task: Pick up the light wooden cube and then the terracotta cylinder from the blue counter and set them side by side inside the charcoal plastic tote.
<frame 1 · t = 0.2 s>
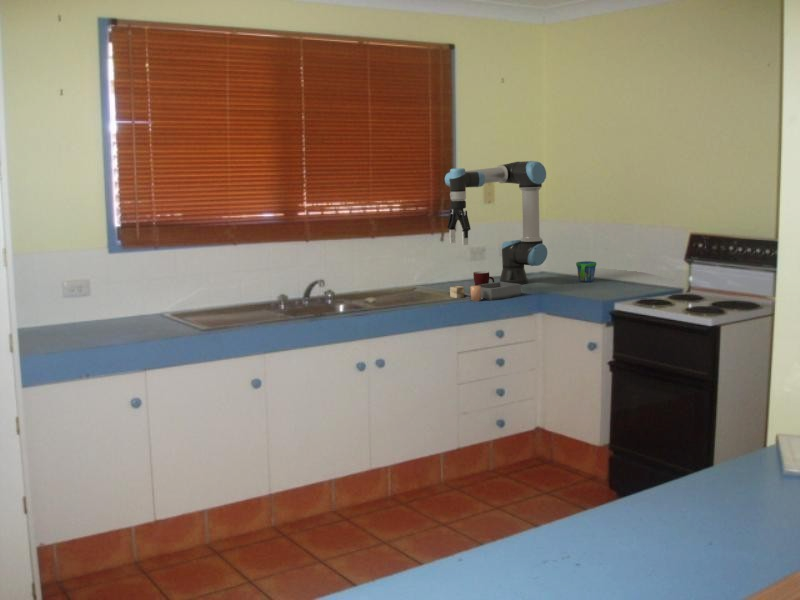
hand: (458, 243, 441), 26 cm above the counter, fingers open, 13 cm apart
snack cup: (586, 281, 480), on the counter
terracotta cylinder: (476, 300, 432), on the counter
tote: (495, 296, 443), on the counter
wood cube: (457, 297, 446), on the counter
mug: (484, 291, 460), on the counter
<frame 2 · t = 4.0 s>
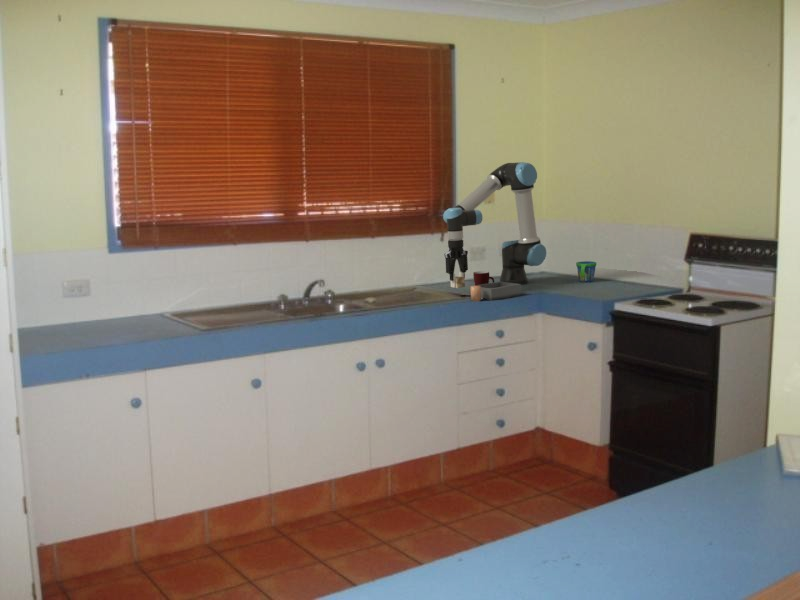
hand: (457, 286, 446), 5 cm above the counter, fingers closed on wood cube, 5 cm apart
wood cube: (457, 287, 446), point 5 cm above the counter, touching gripper
everything else where it was.
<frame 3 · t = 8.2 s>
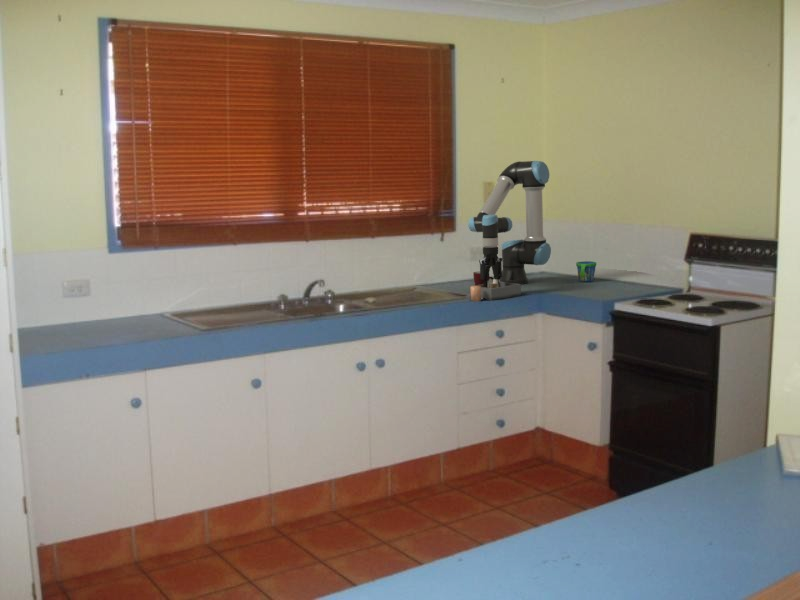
hand: (491, 293, 445), 1 cm above the counter, fingers closed on wood cube, 5 cm apart
wood cube: (491, 293, 445), point 1 cm above the counter, touching gripper, tote
everything else where it was.
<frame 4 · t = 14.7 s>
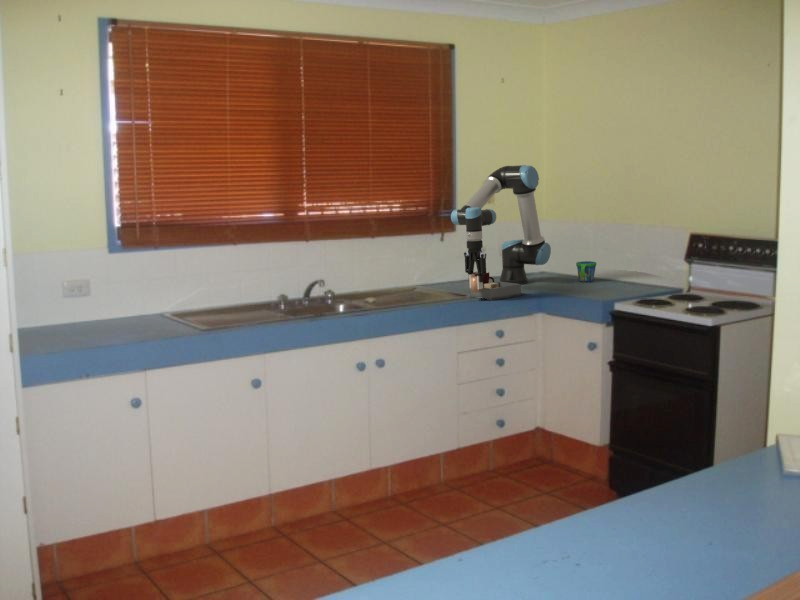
hand: (476, 288, 432), 6 cm above the counter, fingers closed on terracotta cylinder, 5 cm apart
terracotta cylinder: (476, 291, 432), point 4 cm above the counter, touching gripper
wood cube: (491, 293, 445), point 1 cm above the counter, touching tote
everything else where it was.
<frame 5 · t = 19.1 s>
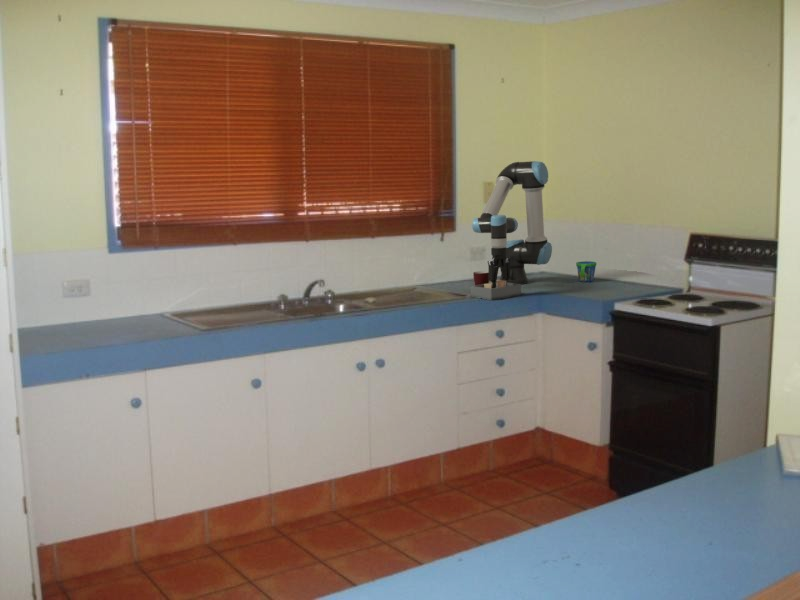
hand: (499, 294, 440), 1 cm above the counter, fingers closed on terracotta cylinder, 5 cm apart
terracotta cylinder: (499, 294, 440), point 1 cm above the counter, touching gripper, tote
everything else where it was.
when the fingers open (1 cm above the counter, at t = 19.3 s): terracotta cylinder stays where it is, resting on tote.
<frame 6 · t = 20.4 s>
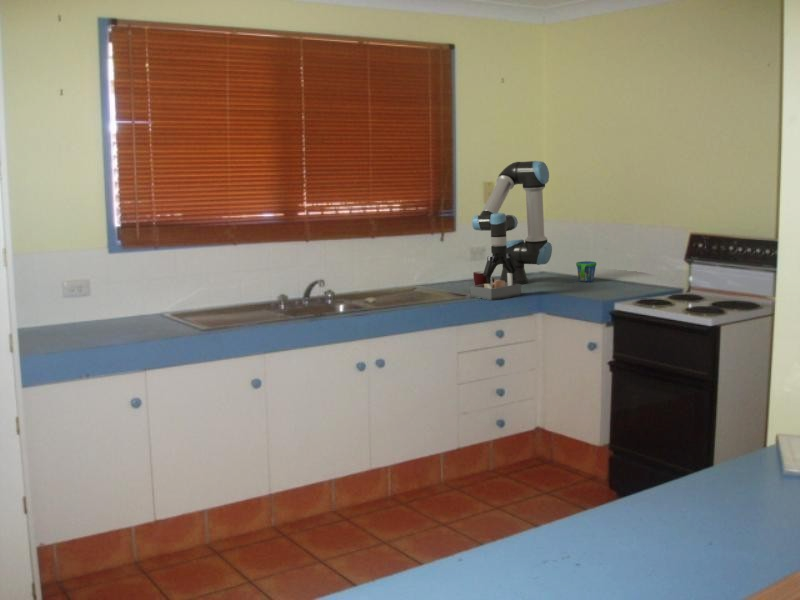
hand: (500, 288, 441), 4 cm above the counter, fingers open, 13 cm apart
terracotta cylinder: (499, 294, 440), point 1 cm above the counter, touching tote
everything else where it was.
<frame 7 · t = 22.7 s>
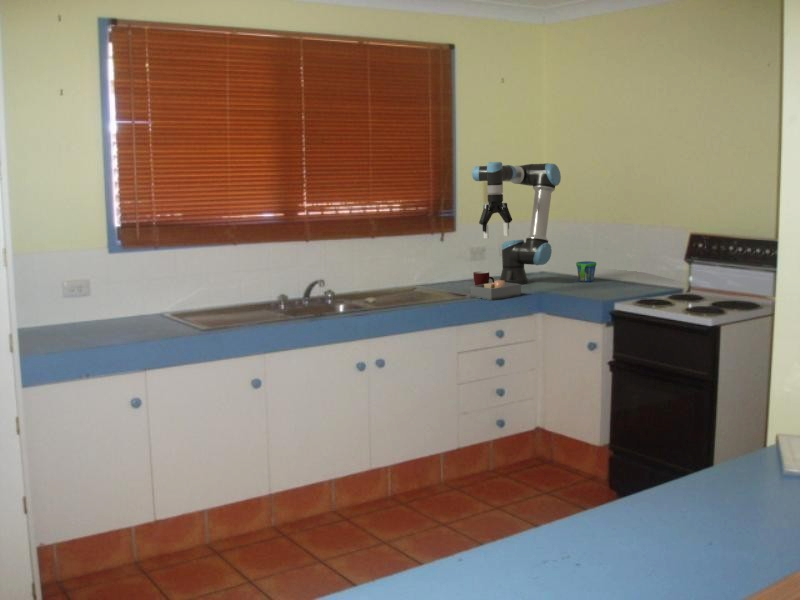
hand: (496, 237, 443), 29 cm above the counter, fingers open, 13 cm apart
nothing on the counter moved.
at the end: wood cube inside the target area on the tote (3.0 cm from its centre), point 1.0 cm above the tote's base; terracotta cylinder inside the target area on the tote (3.1 cm from its centre), point 1.0 cm above the tote's base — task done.
